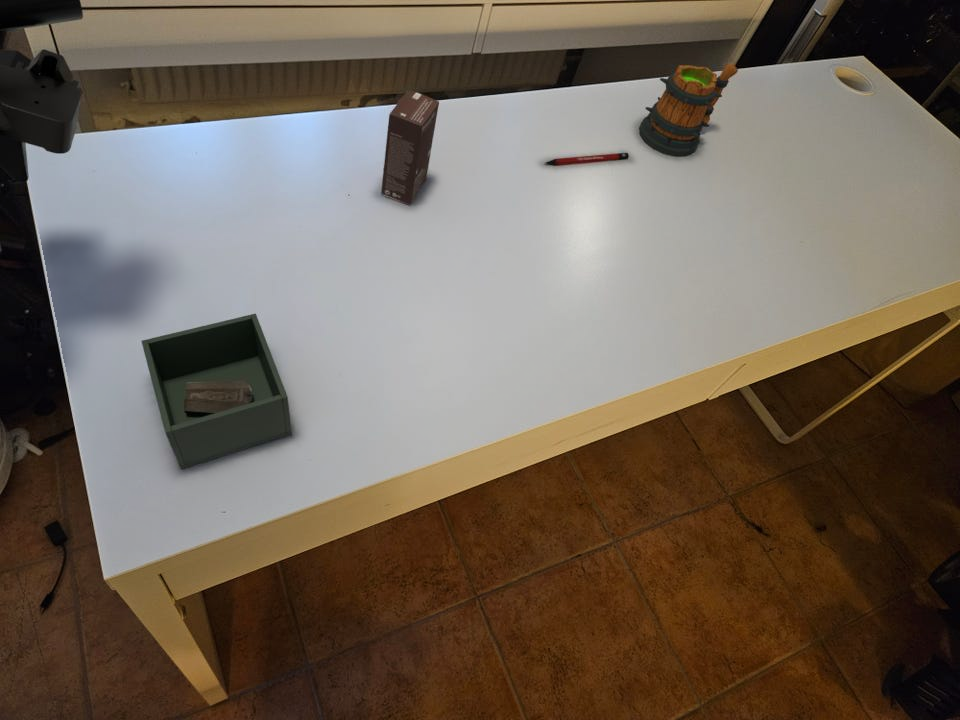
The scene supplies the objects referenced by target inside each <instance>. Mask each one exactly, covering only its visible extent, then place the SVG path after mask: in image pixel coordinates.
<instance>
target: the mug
mask: <svg viewBox="0 0 960 720" xmlns="http://www.w3.org/2000/svg"><path fill="white" fill-rule="evenodd" d="M670 70H671V74H670V75H669V76H668V77H667V78H664V77H661V78H659V81H661V82H662V83H663V84H665V90H664V91H663V94H662V95H661V97H660V96H658V97H657V101H656V102H655V103H654V104H653V106H652V107H650V106H646V107H645V109H644V110H646V111H647V112H649V113H648V114H647V115H646V116H645V117H644V118H643V119H642V121H641V122H640V124H639V126H638V133H639V136H640V138H641V139H642V140H643V142H644V143H645V144H646V145H648V146H649V147H650V148H651V149H653V150H654V151H656V152H659V153H661V154H664V155H667V156H672V157H676V158H677V157H688V156H690V155H692V154H694V153H695V151H697V148H698V146H699V144H700V137H701V132H702V130H703V128H708V127H711V124H710V123H709V122H710V121H711V115H712V114H713V112H714V110H715V108H714V106H715V105H716V103H718V100H719V99H720V98H722V97H723V95H722V92H723V90H724V89H725V88H727V86H728V84H729V82H730V81H729V79H731V78H732V77H733V76H735V75H736V74H737V73H738V72H739V69H738V68H737V66H735V64H733V62H728V63H726V65H725V66H724V67H723V69H722V71H721V73H720V75H719V76H718V74H717V73H715V72H714V71H713V70H711V69H710V68H708V67H707V66H695V65H689V64H686V65H685V64H684V65H681V64H679V65H678V66H677V68H676V70H675V69H674V68H671V69H670Z"/></svg>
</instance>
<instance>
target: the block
mask: <svg viewBox="0 0 960 720" xmlns="http://www.w3.org/2000/svg"><path fill="white" fill-rule="evenodd" d="M253 400H254V399H253V393H252V389H251V387H250V386H249V385H248V384H247V383H246V382H245V381H222V382H187V386H186V391H185V399H184V411H185V414H197V415H211V414H214V413H218V412H221V411H225V410H228V409H232V408H235V407H239V406H242V405H245V404H249V403H252V402H253Z"/></svg>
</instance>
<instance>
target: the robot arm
mask: <svg viewBox="0 0 960 720" xmlns="http://www.w3.org/2000/svg"><path fill="white" fill-rule="evenodd" d="M83 13H84V12H83V8H82V2H81V0H0V33H3V32H10V31H16V30H22V29H29V28H35V27H42V26H48V25H53V24H60V23H66V22H73V21H79V20H83V18H84V14H83ZM79 85H80V82H79V81H78V80H75V79H74V76H73V73H72V71H71V69H70V67H69V65H68V63H67V61H66V59H65V56H63V55H62V54H59V53H56V52H53V51H51V50H48V49H46V48H45V49H41V50H40V51H39V52H38V53H37V54H36V55H35V57H33V58H32V59H30V58H29V57H28V56H26V55H25V54H23V53H22V52H20V51H19V50H14V49H1V48H0V167H1V168H2V169H3V171H5V172H6V173H7V174H8V175H9V176H10V177H11V179H13V180H14V181H16V182H28V180H29V179H30V176H29V165H28V154H27V145H31V146H35V147H39V148H41V149H44V150H45V152H49V153H53V154H57V155H58V154H61V155H62V154H66V153H69V152H70V150H71V148H72V146H73V145H72V144H73V141H74V138H75V134H76V132H77V130H78V125H79V117H80V107H81V99H82V96H83V93H84V92H83V90H82V88H81V87H79ZM2 250H3V249H2V245H1V244H0V254H1V253H2Z"/></svg>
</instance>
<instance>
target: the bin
mask: <svg viewBox="0 0 960 720" xmlns="http://www.w3.org/2000/svg"><path fill="white" fill-rule="evenodd" d="M140 341H141V345H142V349H143V351H144V352H143V353H144V357H145V360H146V364H147V369H148V372H149V375H150V380H151V384H152V388H153V391H154V395H155V398H156V402H157V403H156V404H157V407H158V410H159V415H160V418H161V421H162V425H163V429H164V433H165V435H166V437H167V440H168V443H169V444H170V447H171V450H172V452H173V454H174V456H175V459H176V461H177V463H178V466H179V468H180V469H181V470H183V469H186V468H189V467H192V466H196V465H199V464H202V463H205V462H209V461H211V460H214V459H218V458H222V457H225V456H228V455H231V454H234V453H238V452H240V451H243V450H247V449H249V448H253V447H256V446H260V445H262V444H266V443H268V442H273V441H276V440H278V439H281V438H284V437H288V436H290V435H292V434H293V433H292V431H293V430H292V423H291V413H290V406H289V397H288V394H287V392H286V389H285V386H284V384H283V381H282V379H281V375H280V373H279V370H278V368H277V365H276V363H275V361H274V358H273V354H272V352H271V350H270V347H269V344H268V342H267V339H266V336H265V333H264V331H263V329H262V325H261V323H260V321H259V318H258V315H257V313H252V314H246V315H244V316H239V317H234V318H231V319H226V320H222V321H219V322H214V323H210V324H206V325H201V326H197V327H193V328H188V329H184V330H181V331H177V332H172V333H168V334H167V333H166V334H163V335H160V336H155V337H151V338H148V339H143V340H140ZM222 381H245V382H246V383H247V384H248V385H249V386H250V387H251V389H252V393H253V399H254V400H253V402H252V403H249V404H245V405H242V406H239V407H235V408H232V409H228V410H225V411H221V412H218V413H214V414H211V415H197V414H185V411H184V399H185V391H186V386H187V382H222Z"/></svg>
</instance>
